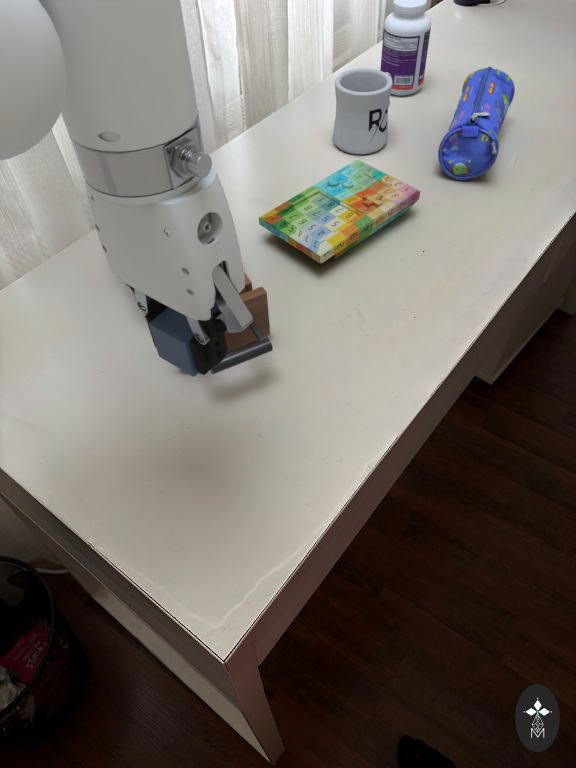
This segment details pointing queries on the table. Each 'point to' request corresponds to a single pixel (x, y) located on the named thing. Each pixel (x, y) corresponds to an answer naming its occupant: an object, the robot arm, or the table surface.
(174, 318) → the block
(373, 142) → the mug
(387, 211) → the puzzle game
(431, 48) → the table surface
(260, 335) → the drawer
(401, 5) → the pill bottle
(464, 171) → the pencil case
